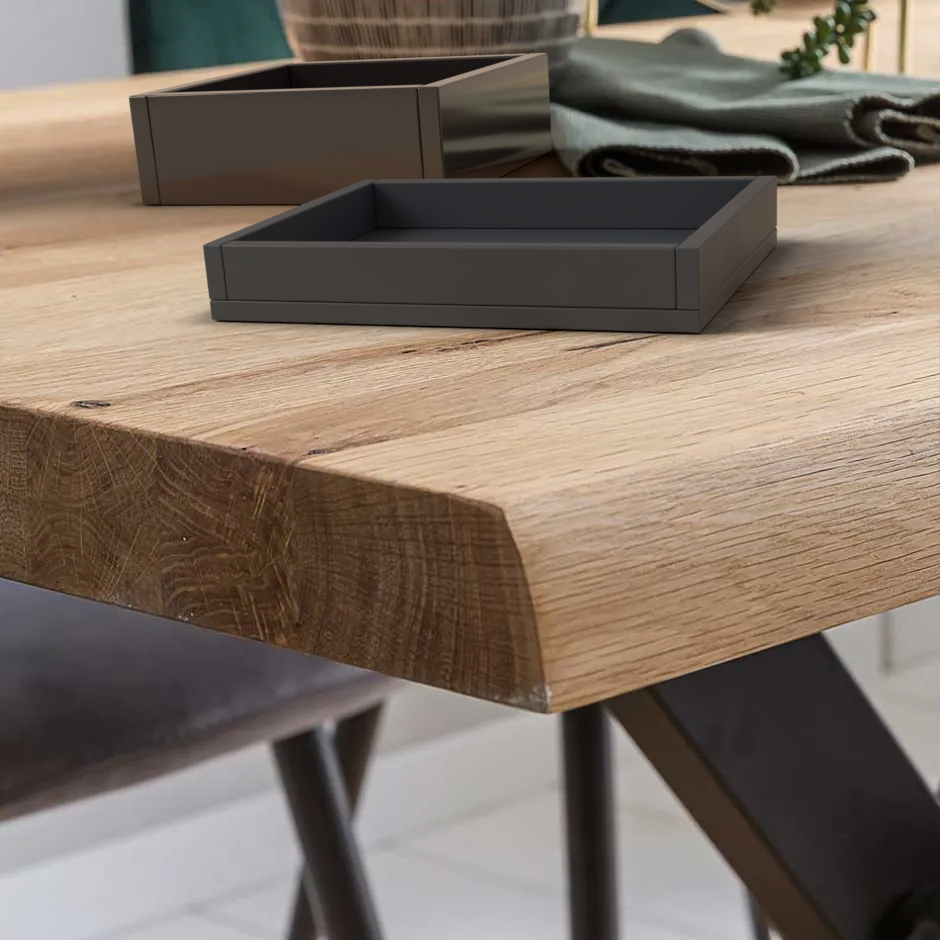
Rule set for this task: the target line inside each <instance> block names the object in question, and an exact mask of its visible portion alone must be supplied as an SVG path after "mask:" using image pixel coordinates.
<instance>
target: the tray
mask: <svg viewBox="0 0 940 940" xmlns="http://www.w3.org/2000/svg"><path fill="white" fill-rule="evenodd" d="M777 226H778V176H777V175H758V176H757V175H721V176H720V175H719V176H718V175H717V176H716V175H714V176H710V175H709V176H703V175H701V176H610V177H609V176H605V177H602V176H601V177H597V176H596V177H595V176H593V177H592V176H591V177H590V176H589V177H501V178H500V177H498V178H477V179H380V180H378V179H364V180H362V181H359V182H357V183H354V184H352V185H350V186H347V187H345V188H342V189H340V190H337V191H335V192H332V193H330V194H327V195H325V196H322V197H320V198H317V199H315V200H312V201H310V202H308V203H305V204H299V205H298V206H296V207H293V208H291V209H288V210H285V211H283V212H280V213H277V214H276V215H273V216H271V217H267V218H266V219H264V220H260V221H258V222H256V223H253V224H251V225H248V226H246V227H243V228H240V229H239V230H236V231H234V232H230V233H229V234H226V235H224V236H221V237H219V238H216V239H214V240H211V241H209V242H207V243H204V244H203V245H202V249H203V250H202V251H203V259H204V266H205V274H206V281H207V291H208V298H209V307H210V315H211V320H213V321H235V322H269V323H270V322H272V323H273V322H275V323H306V324H307V323H310V324H312V323H313V324H344V325H345V324H348V325H351V324H352V325H387V326H388V325H389V326H420V327H421V326H423V327H424V326H425V327H464V328H499V329H501V328H503V329H536V330H537V329H538V330H539V329H541V330H542V329H543V330H545V329H546V330H575V331H576V330H577V331H581V330H582V331H611V332H612V331H613V332H614V331H615V332H616V331H618V332H653V333H654V332H655V333H657V332H658V333H690V334H691V333H693V334H698V333H701V332H702V330H703V329H704V328H705V327H707V325H708V324H709V323H710V322H711V320H712V319H713V318H714V317H715V316H716V315H717V314H718V312H719V311H720V310H721V309H722V308H723V307H724V306H725V304H726V303H727V302H728V301H729V299H731V298H732V296H733V295H734V294H735V293H736V292H737V291H738V290H739V288H740V287H741V286H742V285H743V284H744V283H745V281H746V280H747V279H748V278H749V277H750V276H751V275H752V274H753V272H754V271H755V270H756V269H757V268H758V266H759V265H760V264H761V263H762V262H763V261H764V260H765V259H766V257H767V256H768V255H769V254H770V253H771V252H772V251H773V250H774V249H775V247H776V246H777V244H778V227H777Z"/></svg>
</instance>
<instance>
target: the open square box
mask: <svg viewBox="0 0 940 940" xmlns="http://www.w3.org/2000/svg"><path fill="white" fill-rule="evenodd" d="M548 58H549V57H548V53H547V52H531V53H505V54H504V53H502V54H479V55H477V54H475V55H452V56H450V55H449V56H429V57H428V56H423V57H400V58H396V57H395V58H373V59H370V58H369V59H349V60H347V59H346V60H345V59H344V60H320V61H296V62H293V61H292V62H291V61H290V62H278V63H274V64H269V65H265V66H259V67H255V68H251V69H247V70H242V71H241V70H240V71H238V72H231V73H228V74H223V75H219V76H218V75H217V76H214V77H209V78H206V79H205V78H204V79H201V80H197V81H192V82H187V83H186V82H185V83H181V84H178V85H173V86H169V87H164V88H160V89H155V90H150V91H146V92H141V93H137V94H133V95H129V96H128V104H129V109H130V110H129V111H130V118H131V127H132V133H133V134H132V135H133V142H134V148H135V156H136V164H137V171H138V178H139V179H138V180H139V187H140V194H141V195H140V196H141V202H142V204H143V205H145V206H146V205H147V206H149V205H151V206H152V205H155V206H156V205H159V206H160V205H163V206H164V205H167V206H168V205H169V206H170V205H172V206H173V205H174V206H175V205H176V206H177V205H179V206H183V205H187V206H188V205H190V206H191V205H193V206H194V205H195V206H197V205H207V206H209V205H303V204H305V203H308V202H310V201H312V200H315V199H317V198H320V197H322V196H325V195H327V194H330V193H332V192H335V191H337V190H340V189H342V188H345V187H347V186H350V185H352V184H354V183H357V182H359V181H362V180H364V179H378V180H380V179H477V178H500V177H502V176H504V175H506V174H508V173H511V172H513V171H514V170H516V169H518V168H521V167H523V166H524V165H527V164H529V163H530V162H532V161H535V160H537V159H539V158H541V157H543V156H545V155H547V154H549V153H550V152H552V151H553V143H552V142H553V141H552V123H551V121H552V119H551V100H550V99H551V98H550V80H549V79H550V78H549V59H548Z"/></svg>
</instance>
